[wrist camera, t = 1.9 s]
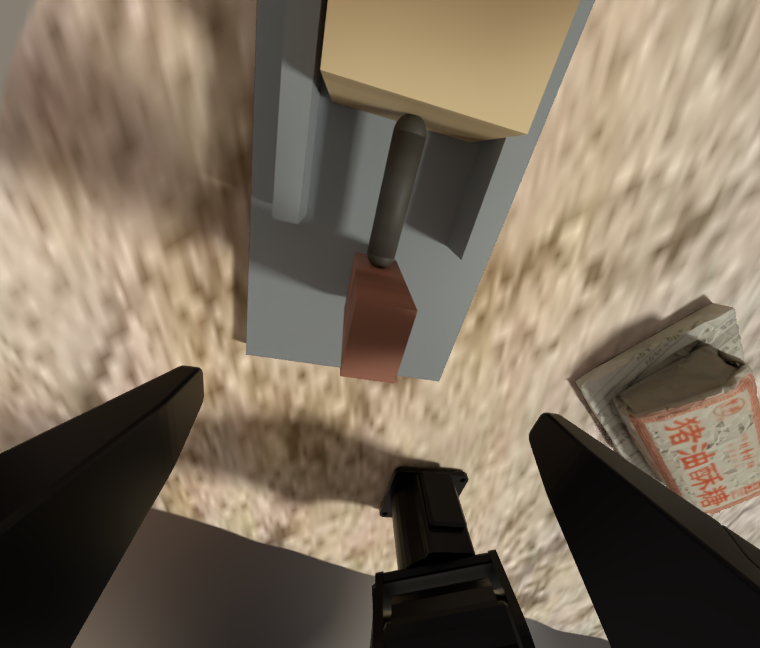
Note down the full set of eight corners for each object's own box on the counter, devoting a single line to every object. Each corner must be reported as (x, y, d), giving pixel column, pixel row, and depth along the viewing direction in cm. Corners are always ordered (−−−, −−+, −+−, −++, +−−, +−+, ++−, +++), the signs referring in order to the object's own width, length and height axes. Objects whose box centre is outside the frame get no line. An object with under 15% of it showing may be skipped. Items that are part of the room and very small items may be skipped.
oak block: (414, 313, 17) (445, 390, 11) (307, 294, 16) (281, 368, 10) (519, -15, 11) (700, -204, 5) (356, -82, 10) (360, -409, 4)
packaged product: (815, 483, 23) (681, 535, 26) (743, 432, 27) (635, 481, 30) (805, 332, 16) (617, 427, 18) (708, 295, 20) (567, 376, 22)
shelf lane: (435, 371, 20) (454, 422, 17) (251, 345, 18) (223, 396, 14) (599, -45, 11) (729, -152, 7) (272, -193, 9) (213, -453, 5)
